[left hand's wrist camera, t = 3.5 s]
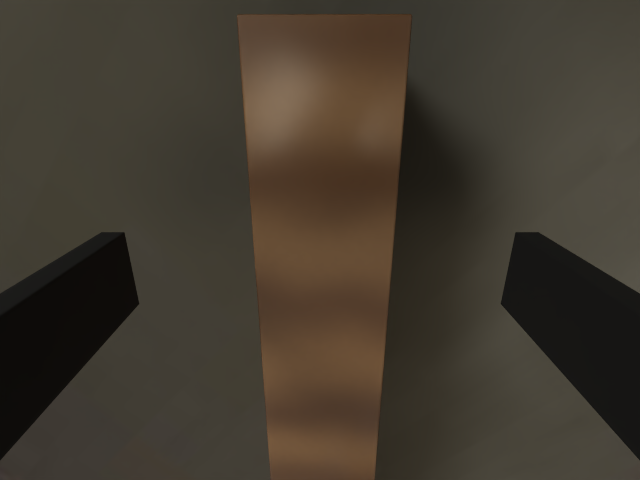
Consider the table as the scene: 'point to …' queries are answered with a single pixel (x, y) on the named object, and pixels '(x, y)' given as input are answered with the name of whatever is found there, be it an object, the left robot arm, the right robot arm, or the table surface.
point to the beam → (323, 227)
